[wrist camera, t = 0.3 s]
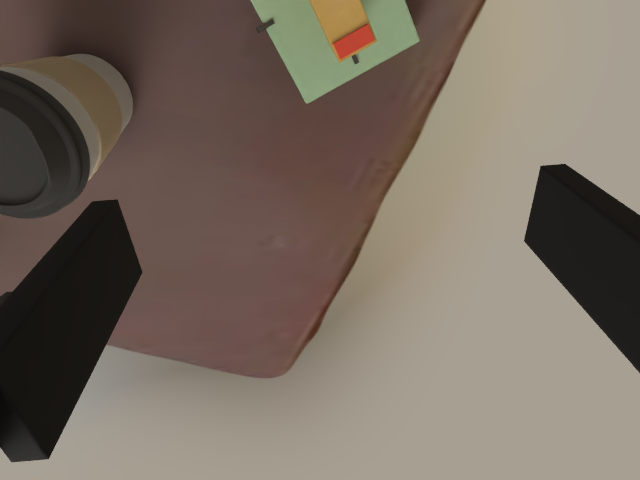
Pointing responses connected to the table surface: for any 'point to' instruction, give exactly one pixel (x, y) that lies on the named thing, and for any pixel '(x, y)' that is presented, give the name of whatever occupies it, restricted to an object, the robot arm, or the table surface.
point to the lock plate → (314, 50)
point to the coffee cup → (56, 129)
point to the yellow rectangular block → (344, 26)
